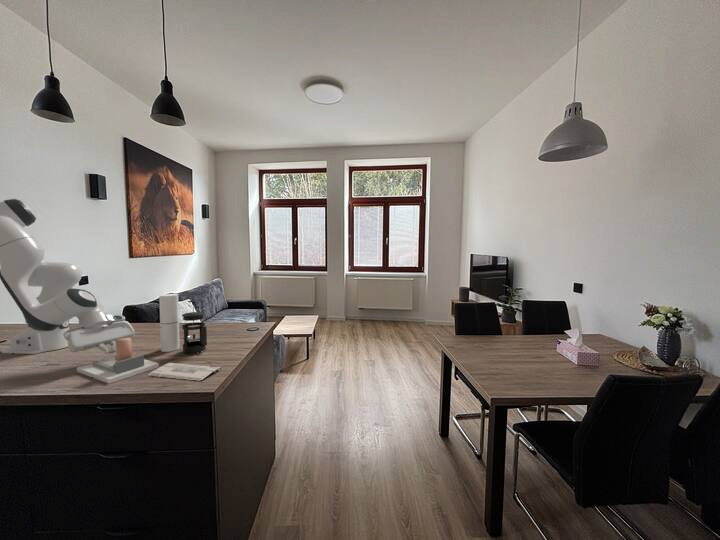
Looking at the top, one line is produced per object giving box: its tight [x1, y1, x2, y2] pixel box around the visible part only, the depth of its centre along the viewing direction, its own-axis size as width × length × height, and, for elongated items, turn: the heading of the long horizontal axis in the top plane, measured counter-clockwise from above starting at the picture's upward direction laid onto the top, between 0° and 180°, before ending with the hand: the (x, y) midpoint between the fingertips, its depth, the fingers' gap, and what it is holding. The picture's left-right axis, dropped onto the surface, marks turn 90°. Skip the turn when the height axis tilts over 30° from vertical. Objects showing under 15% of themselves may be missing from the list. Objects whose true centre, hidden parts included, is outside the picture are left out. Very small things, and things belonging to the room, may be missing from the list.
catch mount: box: [76, 354, 160, 385], centre depth 109 cm, size 22×16×6 cm
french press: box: [181, 299, 208, 355], centre depth 130 cm, size 12×9×23 cm
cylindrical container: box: [158, 293, 180, 353], centre depth 132 cm, size 7×7×25 cm
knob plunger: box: [113, 338, 133, 367], centre depth 108 cm, size 5×5×10 cm
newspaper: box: [147, 362, 222, 381], centre depth 108 cm, size 23×12×2 cm, turn 79°
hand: (111, 352), depth 113 cm, fingers closed
